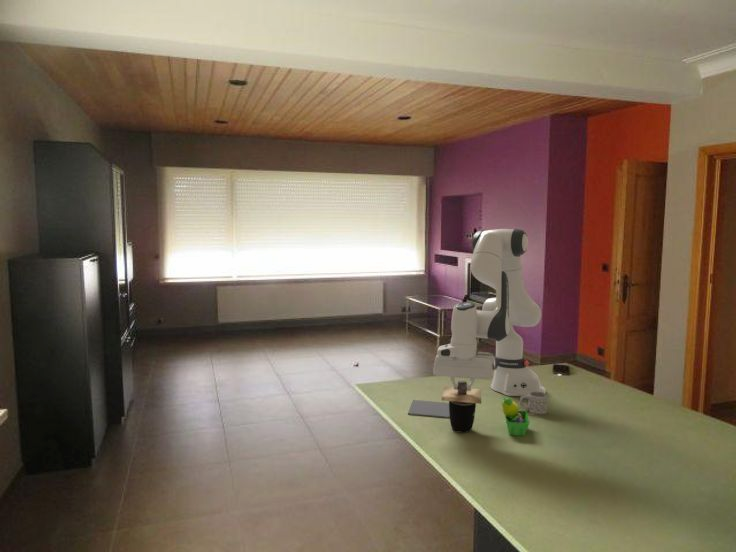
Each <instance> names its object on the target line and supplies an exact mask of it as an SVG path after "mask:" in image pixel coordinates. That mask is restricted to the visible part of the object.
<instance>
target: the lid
mask: <svg viewBox="0 0 736 552" xmlns="http://www.w3.org/2000/svg"><path fill="white" fill-rule="evenodd" d="M457 384H458V390H454V386H443V390H442V395H441V401H442V402H443V401H444V402H449V401H455V402H467V403H476V404H480V405H482V389H481V388H472V387H471V391H466V389H467V384H468V382H467V381H465V380H459V381H457Z"/></svg>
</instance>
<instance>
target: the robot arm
mask: <svg viewBox="0 0 736 552" xmlns="http://www.w3.org/2000/svg"><path fill="white" fill-rule="evenodd" d="M528 247H529V239H528V235H527V233H526V231H524V230H523V229H518V228H514V229H512V228H497V229H496V228H495V229H487V230H484V229H483V230H478V231H476V232H475V233H473V236H472V237H471V250H472V256H471V261H470V271H471V274H472V275H473V277H474V278H475V279H476V280H477V281H479V282H480V283H482V284H483V285H487V286H488V287H491V288H492V289H493V290H495V297H489V298H486V299H485V301H484V302H483V304H482V308H481V310H480V309H477V305H476V304H475V303H472V302H470V301H469V302H468V301H463V302H457V303H455V304H454V306H453V308H452V309H453V310H452V314H451V323H450V330H451V338H450V343H448V344H444V345H440V346H439V347H438V348H437V354H436V356H435V358H434V363H433V367H432V368H433V369H432V372H433V375H434V376H435V377H447V378H450V381H451V384H452V385H453V387H454V390H458V383H457V382H456V381H455V379H456V378H461V379H462V378H463V379H469V380H470V382H469V384H468V383H467V389H466V391H471V388H472V386H473V384H474V382H475V380H476V379H477V380H489V381H490V380H492V382H491V384H490V389H492V391H495V392H498V393H501V394H504V395H505V396H511V397H514V396H515V397H521V396H526V395H529V393H530V392H542V393H545V394H547V391H546V388H545V386H542V385H541V381H540V380H541V379H540V378H539V377H540V376H538V375H537V373H536V372H535V371H533V370H532V369H531V368H529V365H530V362H529V360H528V359H526V357H523V356H524V355H523V354H524V350H523V349H524V340H523V337H522V336H521V335H520V334H518V333H517V332H516V331H515V329H514V326H516V327H522V328H531V327H535V326H537V325H538V324H539V323H540V322H541V318H542V310H541V307H540V305H538V303H536V302H535V301H534V300H533V299H532V298H531V296H530V295H529V293H528V291H527V289H526V288H525V284H524V277H523V266H522V255H524V254H525V253H526V252H527V250H528ZM477 338H479V339H488V340H491V341H494V342H495V354H493V353H491V352H489V351H480V350H479V351H478V350H477V349H478V348H477V347H478V341H477ZM493 367H494V368H493ZM493 369H494V372H493Z"/></svg>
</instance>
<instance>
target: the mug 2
mask: <svg viewBox="0 0 736 552" xmlns="http://www.w3.org/2000/svg"><path fill="white" fill-rule="evenodd" d="M524 399H527V400H528V402H527V403H528V405H523V401H524ZM519 408H521V409H524V410H527V411H528V412H529V413H531V414H534V415H546V414H547V410H548V394H547V393H546V394H545V393H542V392H530V393H529V395H526V396H520V398H519Z"/></svg>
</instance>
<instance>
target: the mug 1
mask: <svg viewBox="0 0 736 552" xmlns="http://www.w3.org/2000/svg"><path fill="white" fill-rule="evenodd" d="M448 403H449V422H450V428H451V429H452V430H453V431H455V432H457V433H469V432H470V431H471V430H472V428H473V426H474V423H475V416H476V407H477V405H476V404H477V403H467V402H455V401H448Z"/></svg>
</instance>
